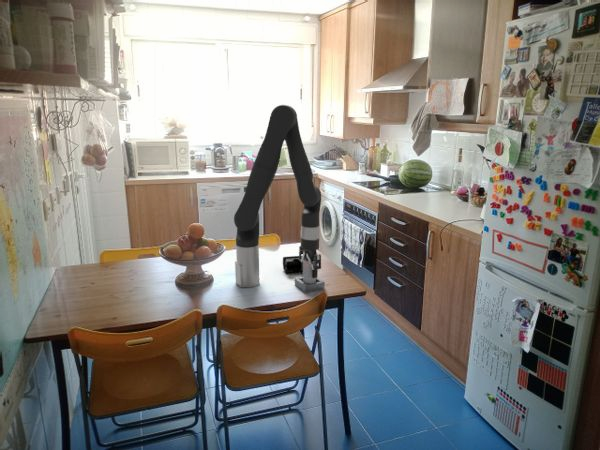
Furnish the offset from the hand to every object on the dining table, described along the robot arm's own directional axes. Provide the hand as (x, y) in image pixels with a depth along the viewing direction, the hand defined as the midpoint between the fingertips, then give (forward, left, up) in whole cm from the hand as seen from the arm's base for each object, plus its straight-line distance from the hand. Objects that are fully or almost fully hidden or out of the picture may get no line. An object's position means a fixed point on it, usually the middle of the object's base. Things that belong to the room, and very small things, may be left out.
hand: (309, 274), depth 182 cm
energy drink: (0, 0, -6) cm, 6 cm away
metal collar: (0, 0, -6) cm, 6 cm away
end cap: (+3, +19, -6) cm, 20 cm away
